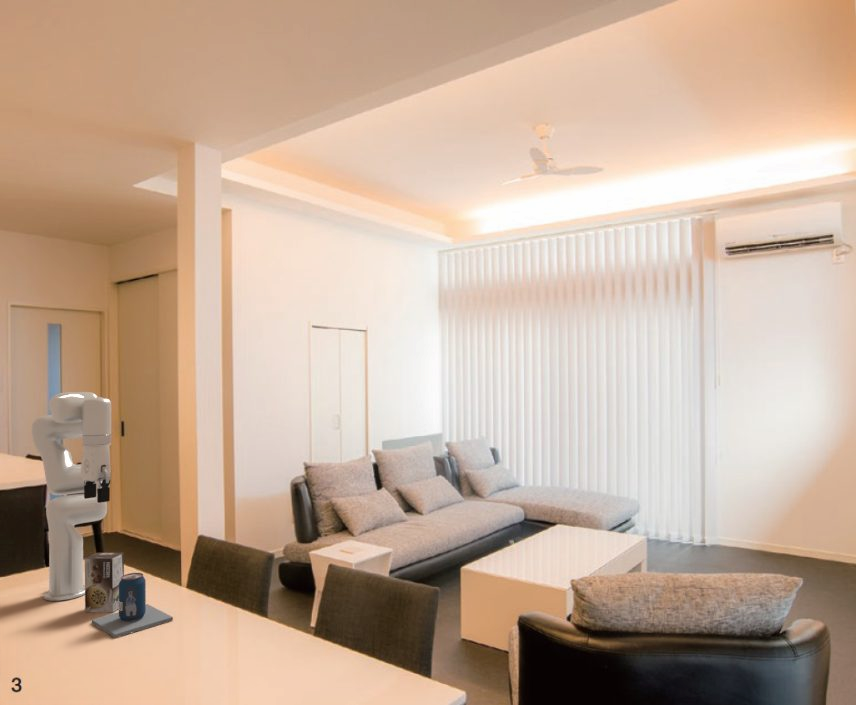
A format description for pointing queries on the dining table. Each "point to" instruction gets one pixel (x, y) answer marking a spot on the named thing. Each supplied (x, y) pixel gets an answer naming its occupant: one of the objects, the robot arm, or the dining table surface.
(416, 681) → the dining table surface
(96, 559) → the coffee box
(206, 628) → the dining table surface
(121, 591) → the soda can
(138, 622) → the mat
